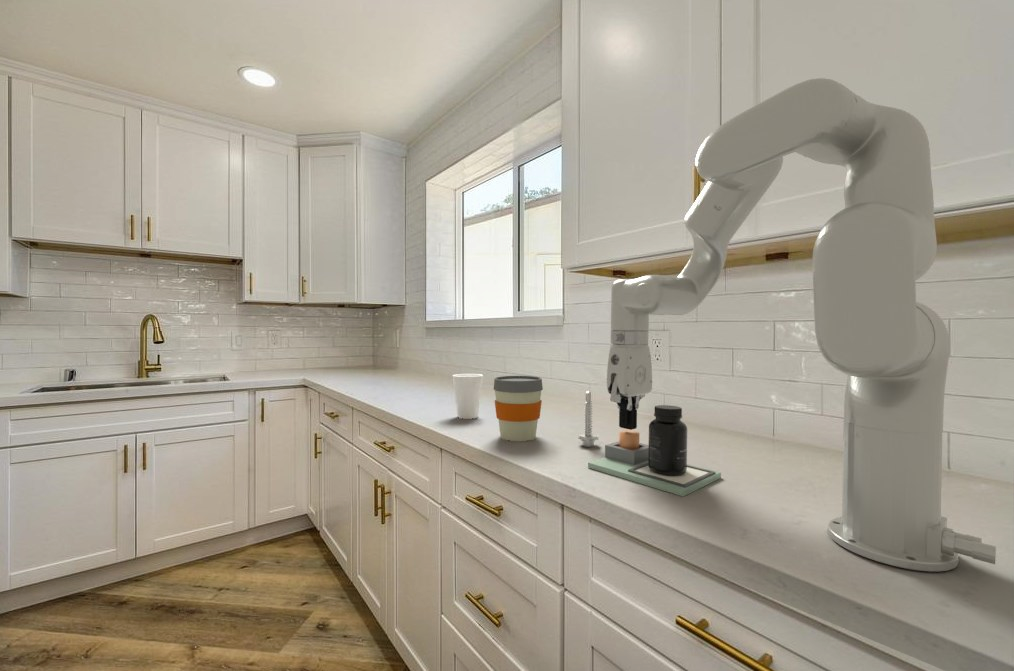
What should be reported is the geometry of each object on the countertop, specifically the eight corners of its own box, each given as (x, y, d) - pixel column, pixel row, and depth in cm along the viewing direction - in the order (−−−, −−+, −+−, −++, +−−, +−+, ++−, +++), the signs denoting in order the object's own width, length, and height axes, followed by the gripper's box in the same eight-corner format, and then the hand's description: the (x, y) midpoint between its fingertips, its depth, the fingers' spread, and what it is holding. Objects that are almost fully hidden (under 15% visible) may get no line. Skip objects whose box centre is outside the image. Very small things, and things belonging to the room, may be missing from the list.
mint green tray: (720, 477, 83) (721, 459, 83) (683, 496, 74) (683, 475, 74) (628, 454, 98) (628, 438, 98) (587, 467, 89) (588, 450, 89)
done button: (643, 452, 92) (643, 432, 92) (632, 455, 89) (632, 436, 89) (626, 448, 95) (626, 429, 95) (615, 451, 92) (615, 432, 92)
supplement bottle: (690, 478, 79) (691, 411, 79) (650, 475, 81) (650, 409, 80) (683, 466, 86) (683, 404, 86) (646, 464, 87) (646, 403, 87)
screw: (579, 448, 103) (576, 442, 108) (600, 448, 103) (596, 442, 108) (579, 392, 103) (576, 389, 107) (600, 392, 103) (596, 389, 107)
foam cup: (471, 412, 146) (471, 373, 145) (489, 417, 138) (489, 375, 138) (447, 416, 140) (446, 375, 139) (463, 421, 132) (463, 377, 132)
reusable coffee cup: (486, 433, 117) (486, 376, 117) (529, 429, 122) (529, 374, 122) (504, 445, 105) (504, 382, 105) (551, 440, 110) (551, 379, 110)
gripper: (623, 341, 84) (621, 437, 85) (665, 339, 94) (663, 426, 94) (591, 339, 90) (590, 430, 90) (634, 338, 99) (632, 419, 100)
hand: (627, 427), depth 92 cm, fingers closed
